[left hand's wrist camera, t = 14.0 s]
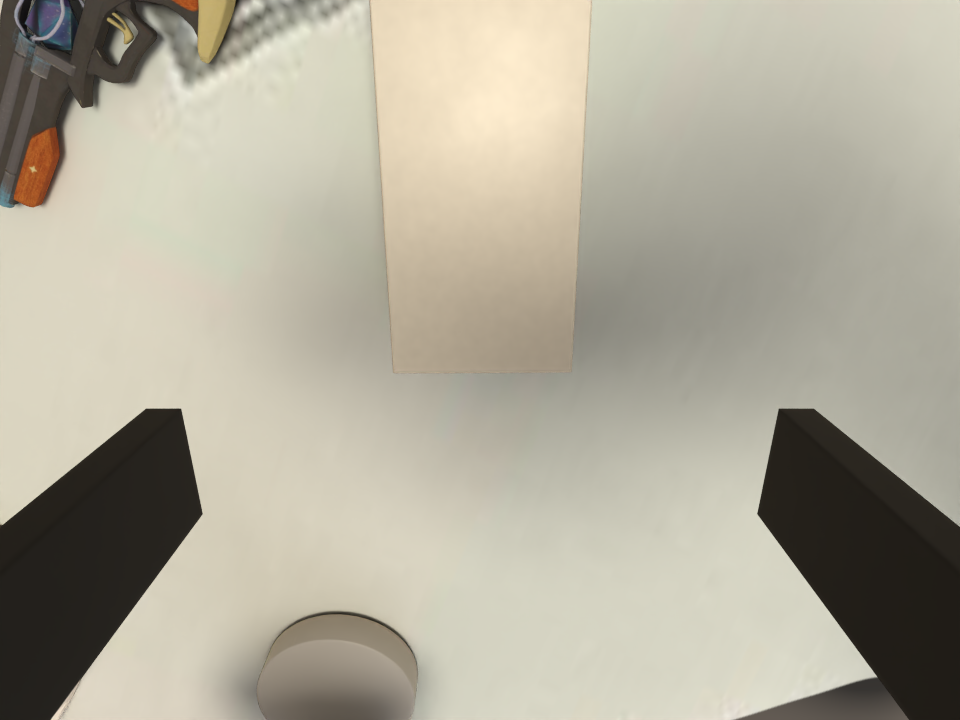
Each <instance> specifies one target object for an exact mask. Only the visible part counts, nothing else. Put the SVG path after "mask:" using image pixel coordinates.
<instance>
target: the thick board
mask: <svg viewBox="0 0 960 720" xmlns="http://www.w3.org/2000/svg"><path fill="white" fill-rule="evenodd" d="M369 1H370V17H371V33H372V48H373V64H374V80H375V95H376V111H377V127H378V142H379V158H380V174H381V189H382V205H383V221H384V236H385V252H386V268H387V283H388V299H389V315H390V330H391V346H392V362H393V372H394V373H548V372H571V371H572V355H573V337H574V319H575V301H576V283H577V265H578V247H579V229H580V211H581V193H582V175H583V157H584V138H585V120H586V102H587V84H588V66H589V48H590V30H591V12H592V0H369Z"/></svg>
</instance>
